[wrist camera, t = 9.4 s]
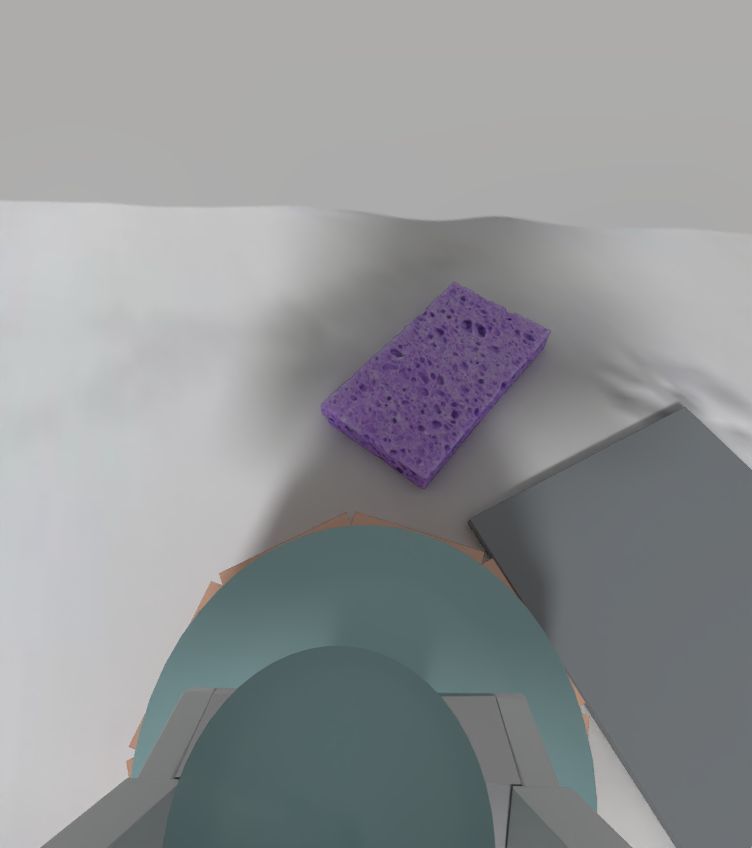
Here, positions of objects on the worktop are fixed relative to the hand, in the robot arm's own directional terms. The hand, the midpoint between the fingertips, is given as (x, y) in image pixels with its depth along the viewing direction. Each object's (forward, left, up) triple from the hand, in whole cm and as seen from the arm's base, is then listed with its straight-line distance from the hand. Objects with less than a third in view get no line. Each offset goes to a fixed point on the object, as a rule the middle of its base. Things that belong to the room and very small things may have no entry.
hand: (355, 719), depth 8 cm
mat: (+2, +15, -11) cm, 19 cm away
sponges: (-13, +11, -12) cm, 21 cm away
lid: (+1, 0, -6) cm, 6 cm away
